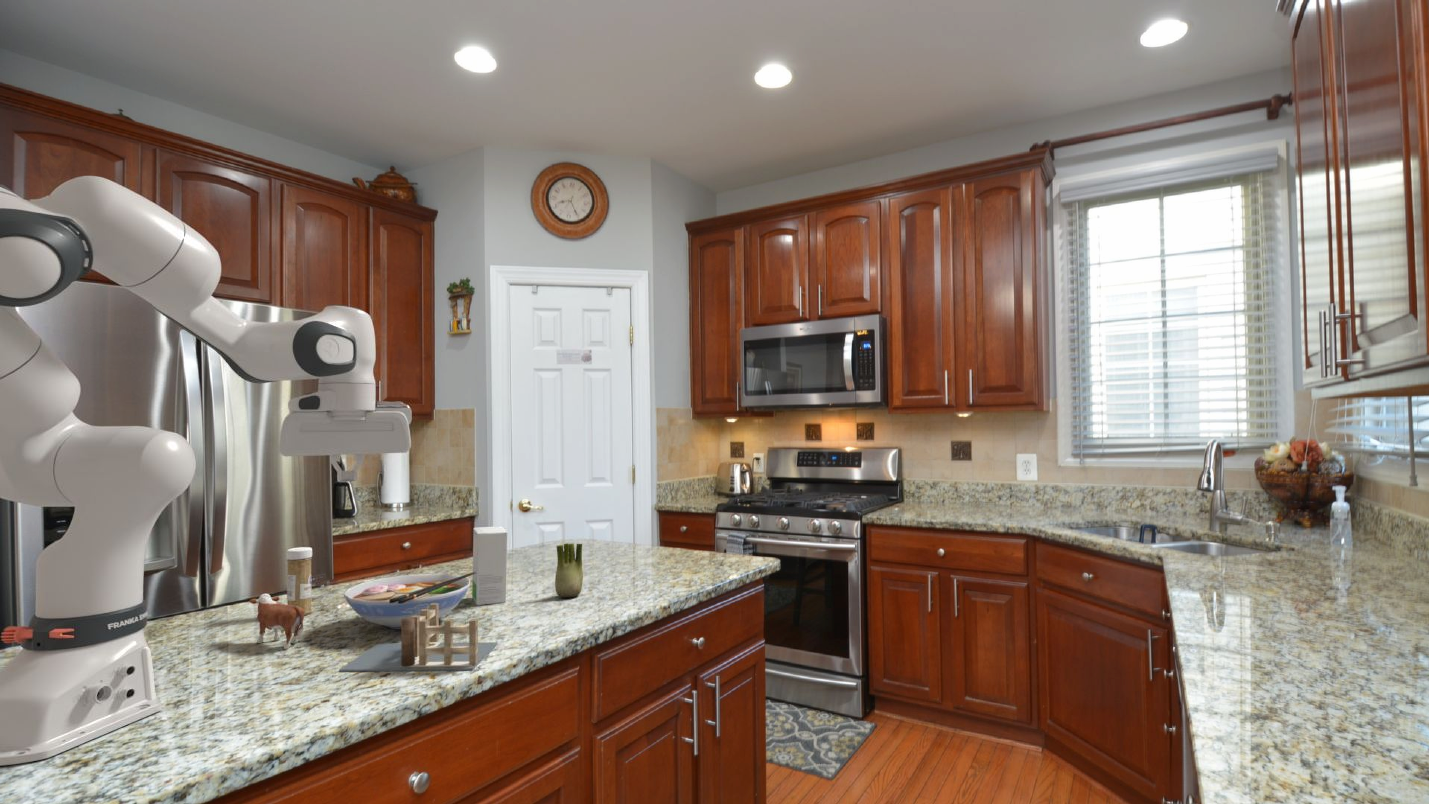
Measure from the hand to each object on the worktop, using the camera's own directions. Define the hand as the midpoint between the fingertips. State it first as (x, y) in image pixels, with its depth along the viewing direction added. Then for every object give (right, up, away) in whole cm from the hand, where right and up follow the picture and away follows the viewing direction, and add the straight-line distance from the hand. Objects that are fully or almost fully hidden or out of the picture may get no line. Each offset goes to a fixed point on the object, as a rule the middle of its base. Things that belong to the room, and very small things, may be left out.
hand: (347, 481), depth 122 cm
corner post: (+14, -29, -9) cm, 33 cm away
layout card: (+15, -29, -4) cm, 33 cm away
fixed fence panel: (+21, -29, -9) cm, 36 cm away
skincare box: (+14, -30, +33) cm, 47 cm away
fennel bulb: (+31, -30, +35) cm, 56 cm away
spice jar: (-22, -30, +23) cm, 44 cm away
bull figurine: (-15, -30, +4) cm, 33 cm away
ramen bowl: (+4, -30, +15) cm, 34 cm away
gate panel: (+14, -28, -2) cm, 32 cm away
